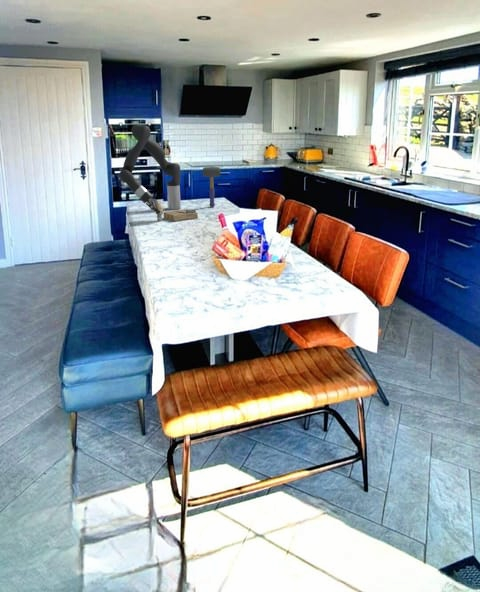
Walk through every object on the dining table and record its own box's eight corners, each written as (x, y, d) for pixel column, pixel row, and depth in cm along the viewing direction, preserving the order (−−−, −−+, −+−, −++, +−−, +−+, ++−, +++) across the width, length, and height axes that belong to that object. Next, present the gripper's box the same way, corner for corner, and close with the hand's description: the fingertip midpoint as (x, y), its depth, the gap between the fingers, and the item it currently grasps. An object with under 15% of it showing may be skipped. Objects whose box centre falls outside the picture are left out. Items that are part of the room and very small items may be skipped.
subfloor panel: (163, 217, 349) (163, 212, 347) (186, 214, 359) (186, 209, 358) (174, 221, 338) (174, 215, 336) (197, 218, 348) (197, 212, 346)
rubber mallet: (219, 206, 391) (219, 166, 380) (221, 207, 384) (220, 167, 373) (203, 206, 389) (202, 166, 378) (204, 208, 382) (203, 167, 371)
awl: (154, 220, 340) (153, 202, 336) (161, 219, 343) (160, 202, 339) (158, 222, 336) (157, 204, 332) (164, 221, 339) (164, 203, 335)
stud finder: (185, 212, 346) (185, 209, 345) (193, 211, 350) (193, 208, 349) (188, 213, 344) (188, 210, 343) (195, 212, 347) (195, 209, 346)
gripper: (143, 191, 327) (162, 210, 330) (149, 188, 340) (167, 206, 343) (136, 200, 329) (154, 218, 332) (142, 196, 342) (160, 213, 345)
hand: (161, 211), depth 337 cm, fingers open, 8 cm apart
